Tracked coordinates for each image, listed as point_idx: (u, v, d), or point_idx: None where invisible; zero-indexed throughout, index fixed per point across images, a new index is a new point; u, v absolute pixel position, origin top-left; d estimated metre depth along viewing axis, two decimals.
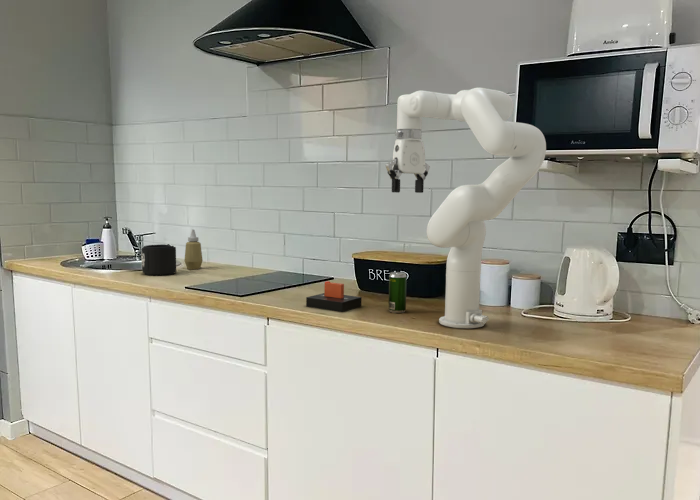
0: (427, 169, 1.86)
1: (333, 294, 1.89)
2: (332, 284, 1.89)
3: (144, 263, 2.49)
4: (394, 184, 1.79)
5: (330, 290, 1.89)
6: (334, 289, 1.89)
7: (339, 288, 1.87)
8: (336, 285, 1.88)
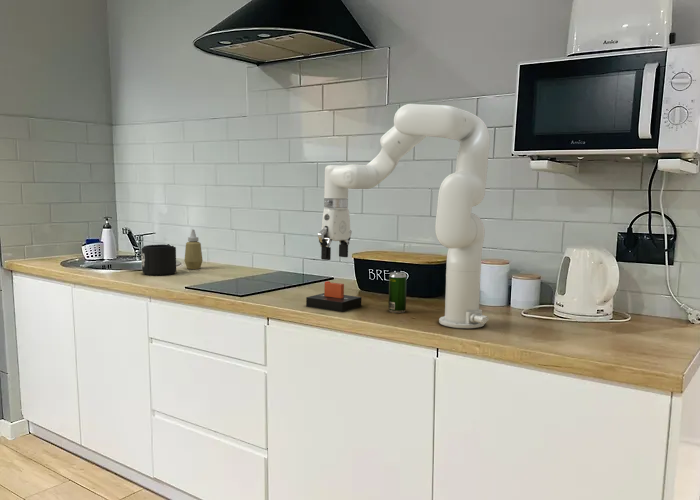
0: (350, 234, 1.94)
1: (333, 294, 1.89)
2: (332, 284, 1.89)
3: (144, 263, 2.49)
4: (325, 252, 1.83)
5: (330, 290, 1.89)
6: (334, 289, 1.89)
7: (339, 288, 1.87)
8: (336, 285, 1.88)
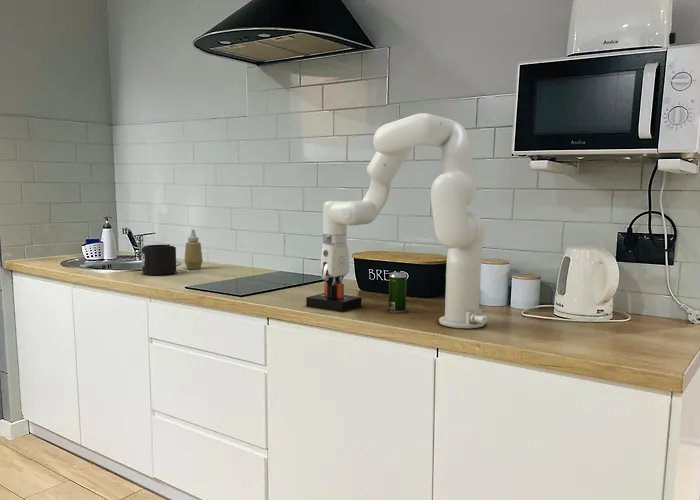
0: (343, 275, 1.93)
1: None
2: None
3: (144, 263, 2.49)
4: (331, 290, 1.88)
5: None
6: None
7: (339, 288, 1.87)
8: (336, 285, 1.88)
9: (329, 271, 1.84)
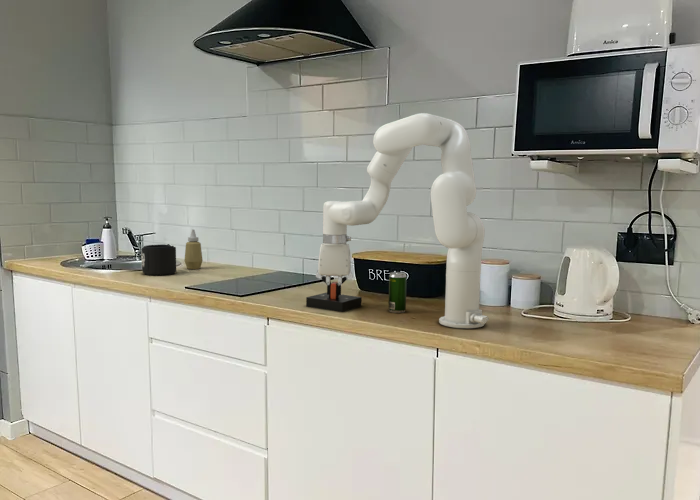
0: None
1: None
2: (336, 284, 1.89)
3: (144, 263, 2.49)
4: None
5: None
6: None
7: None
8: None
9: (350, 269, 1.90)
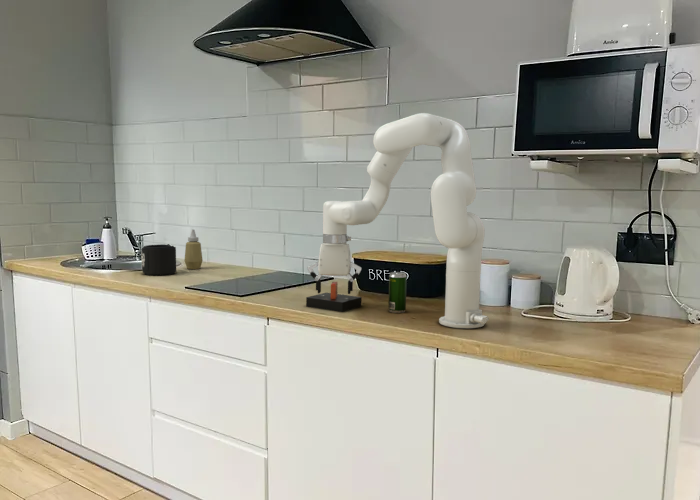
0: None
1: (336, 293, 1.90)
2: (336, 284, 1.89)
3: (144, 263, 2.49)
4: (352, 285, 1.90)
5: (336, 290, 1.89)
6: (336, 288, 1.90)
7: None
8: None
9: (350, 268, 1.90)
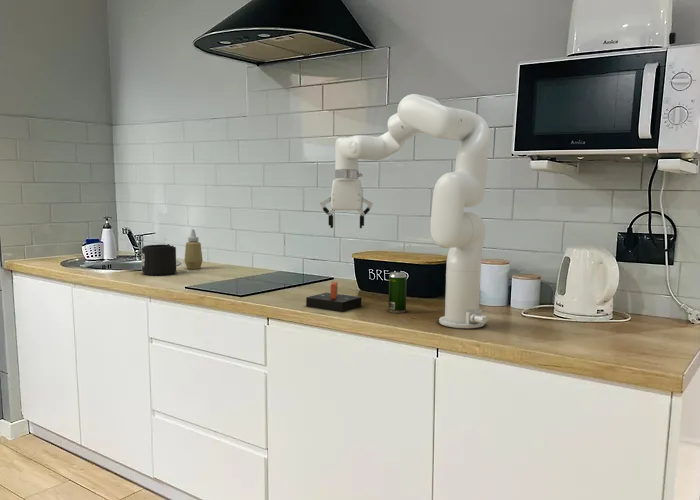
0: None
1: (336, 293, 1.90)
2: (336, 284, 1.89)
3: (144, 263, 2.49)
4: None
5: (336, 290, 1.89)
6: (336, 288, 1.90)
7: None
8: None
9: None
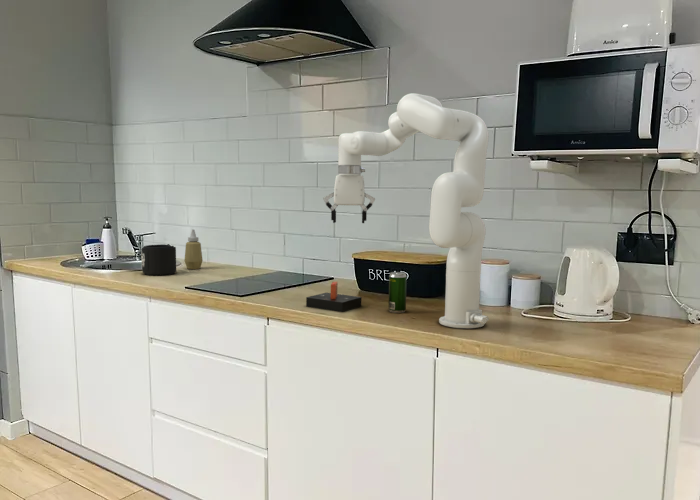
0: None
1: (336, 293, 1.90)
2: (336, 284, 1.89)
3: (144, 263, 2.49)
4: (366, 215, 1.98)
5: (336, 290, 1.89)
6: (336, 288, 1.90)
7: None
8: None
9: (364, 199, 1.99)
